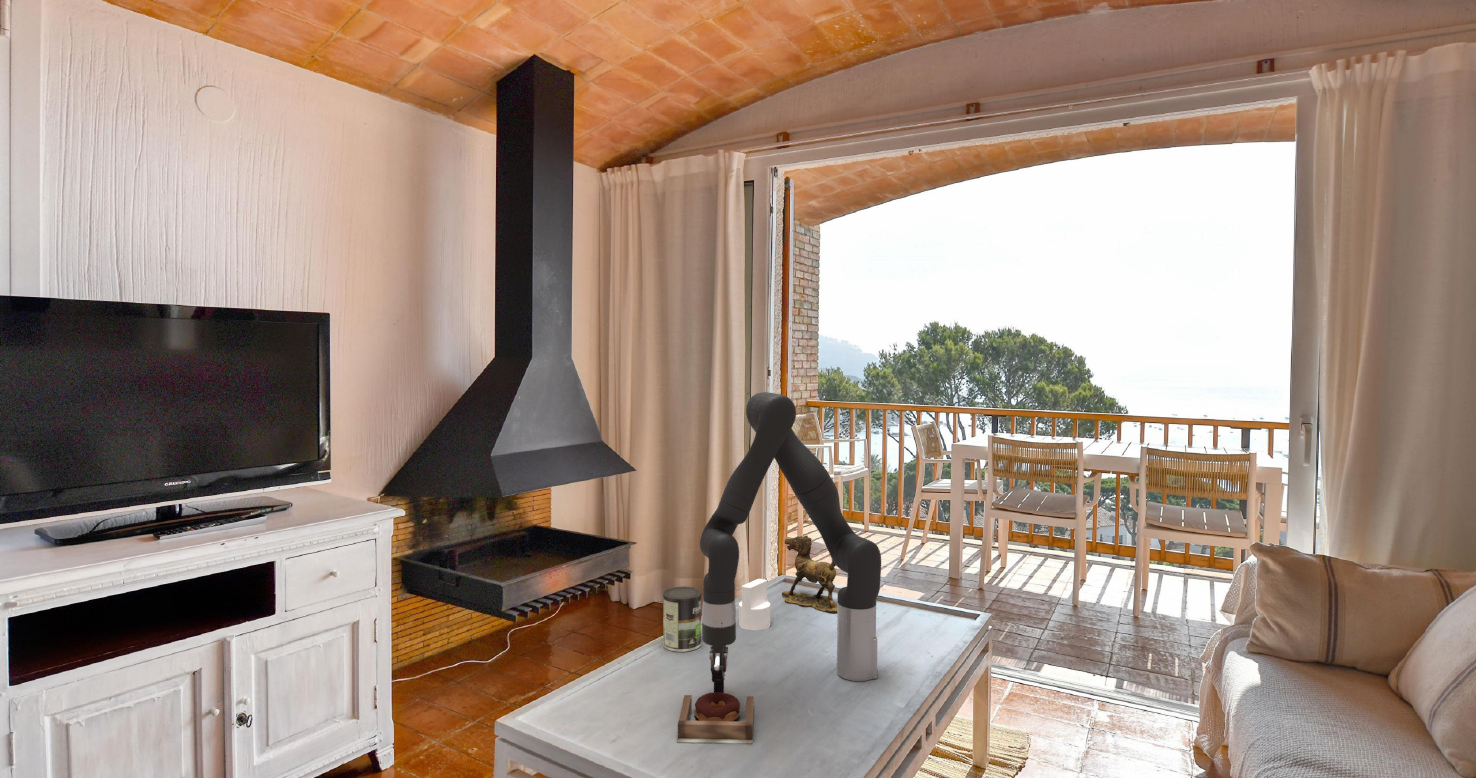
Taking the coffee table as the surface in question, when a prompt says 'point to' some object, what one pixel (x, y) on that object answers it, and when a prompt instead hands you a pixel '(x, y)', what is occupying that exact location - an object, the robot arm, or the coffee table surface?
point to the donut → (717, 707)
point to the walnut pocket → (715, 727)
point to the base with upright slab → (754, 606)
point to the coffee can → (682, 619)
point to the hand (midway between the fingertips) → (718, 695)
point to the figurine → (811, 577)
